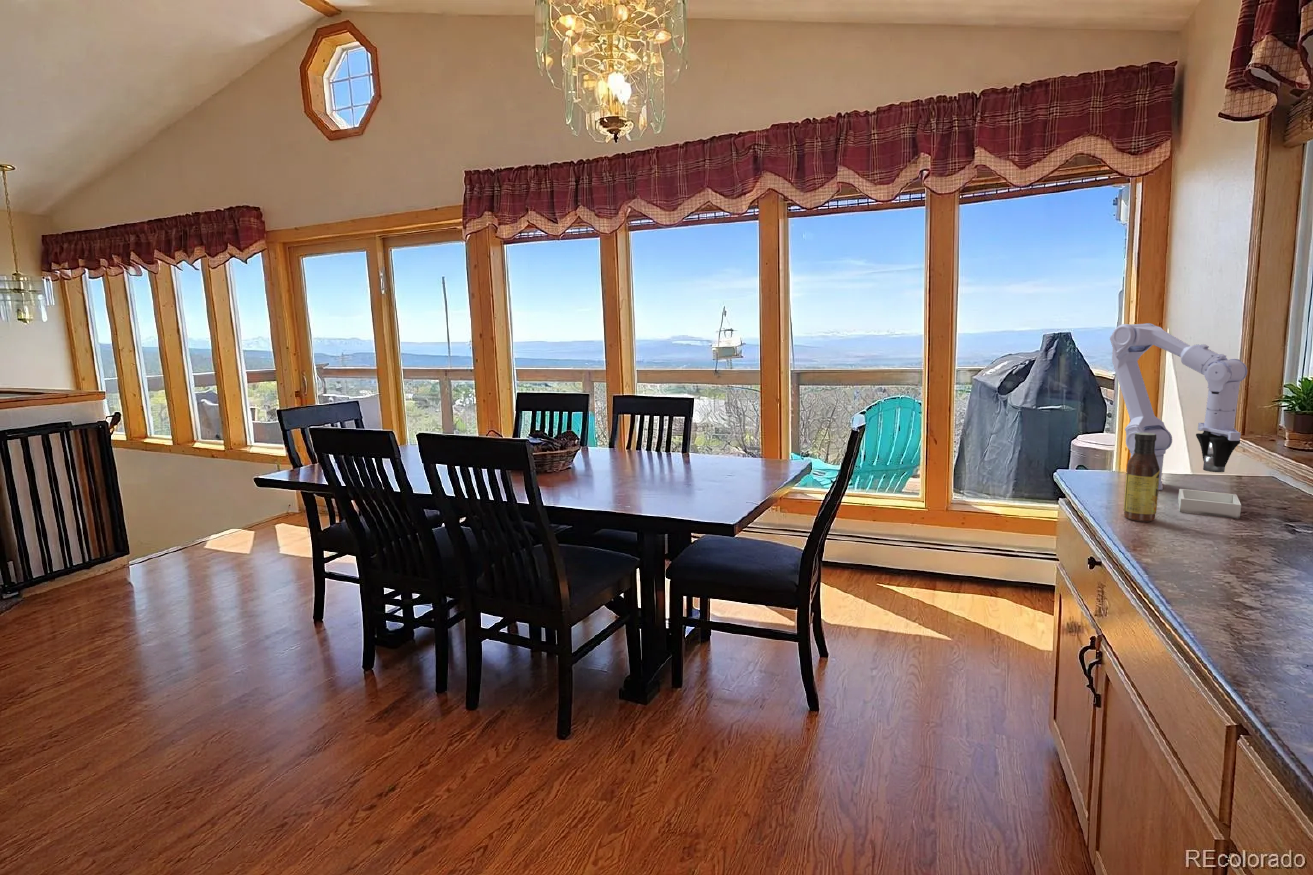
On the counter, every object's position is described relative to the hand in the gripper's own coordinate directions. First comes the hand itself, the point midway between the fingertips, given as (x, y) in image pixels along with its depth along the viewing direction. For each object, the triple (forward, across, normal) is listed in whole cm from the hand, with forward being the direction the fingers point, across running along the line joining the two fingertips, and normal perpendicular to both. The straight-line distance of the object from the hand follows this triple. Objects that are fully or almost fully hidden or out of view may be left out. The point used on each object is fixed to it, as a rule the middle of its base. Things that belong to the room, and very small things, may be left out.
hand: (1214, 464), depth 173 cm
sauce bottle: (+10, +18, -23) cm, 31 cm away
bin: (+9, +8, -4) cm, 13 cm away
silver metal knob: (+2, 0, 0) cm, 2 cm away
